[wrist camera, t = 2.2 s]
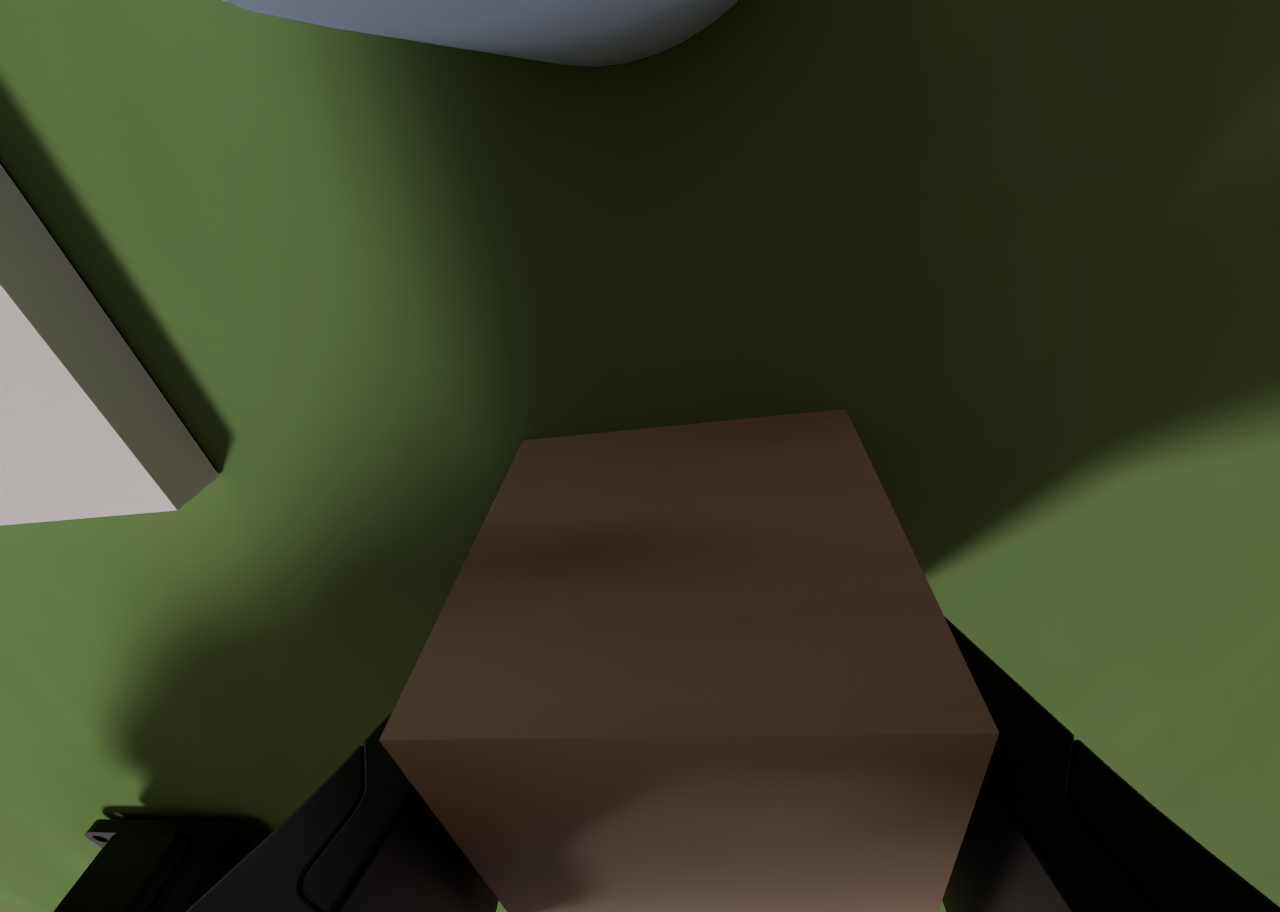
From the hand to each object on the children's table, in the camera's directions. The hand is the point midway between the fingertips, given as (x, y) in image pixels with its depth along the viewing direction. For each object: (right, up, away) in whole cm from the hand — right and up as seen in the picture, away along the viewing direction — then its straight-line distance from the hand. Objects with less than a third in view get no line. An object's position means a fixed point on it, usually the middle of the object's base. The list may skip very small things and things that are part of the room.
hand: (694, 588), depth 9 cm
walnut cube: (0, +1, +1) cm, 1 cm away
